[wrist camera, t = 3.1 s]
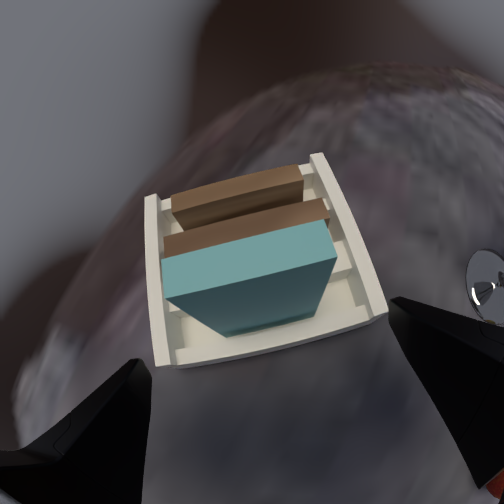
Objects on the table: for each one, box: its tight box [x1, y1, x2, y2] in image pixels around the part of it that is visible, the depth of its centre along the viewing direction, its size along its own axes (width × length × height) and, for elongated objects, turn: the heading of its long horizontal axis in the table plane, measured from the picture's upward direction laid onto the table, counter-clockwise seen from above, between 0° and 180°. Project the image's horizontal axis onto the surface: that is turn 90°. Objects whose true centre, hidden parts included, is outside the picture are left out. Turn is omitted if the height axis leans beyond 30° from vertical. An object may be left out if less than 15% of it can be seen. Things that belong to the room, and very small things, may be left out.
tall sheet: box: [161, 219, 338, 338], centre depth 14 cm, size 2×6×10 cm, turn 102°
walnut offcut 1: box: [171, 164, 304, 231], centre depth 20 cm, size 2×9×4 cm, turn 102°
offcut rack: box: [145, 153, 388, 369], centre depth 19 cm, size 12×14×4 cm
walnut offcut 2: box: [163, 197, 330, 258], centre depth 18 cm, size 2×10×4 cm, turn 102°
